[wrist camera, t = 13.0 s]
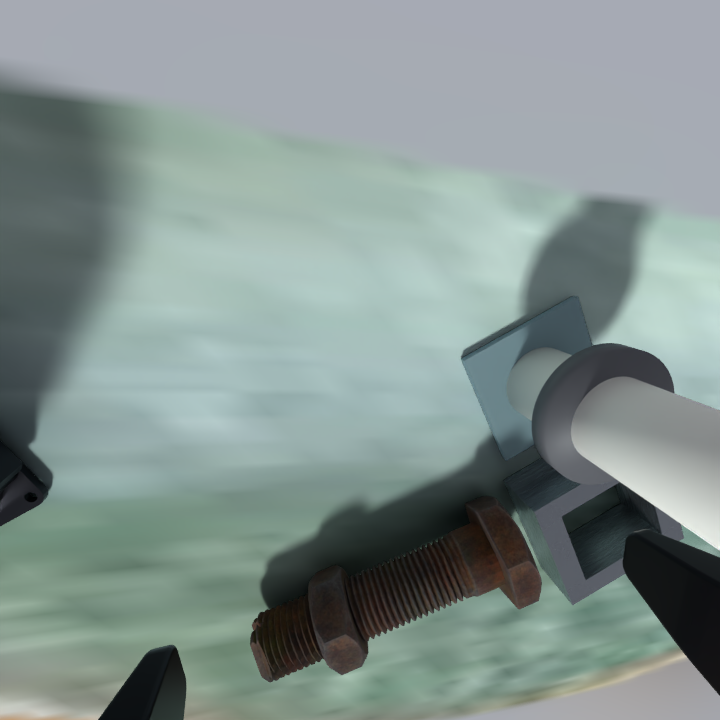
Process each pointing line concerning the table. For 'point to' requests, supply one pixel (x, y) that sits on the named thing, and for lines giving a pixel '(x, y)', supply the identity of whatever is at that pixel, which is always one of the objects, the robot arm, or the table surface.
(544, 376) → the pin
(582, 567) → the block
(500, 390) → the mat
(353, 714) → the table surface
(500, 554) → the bolt
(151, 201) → the table surface
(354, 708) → the table surface
